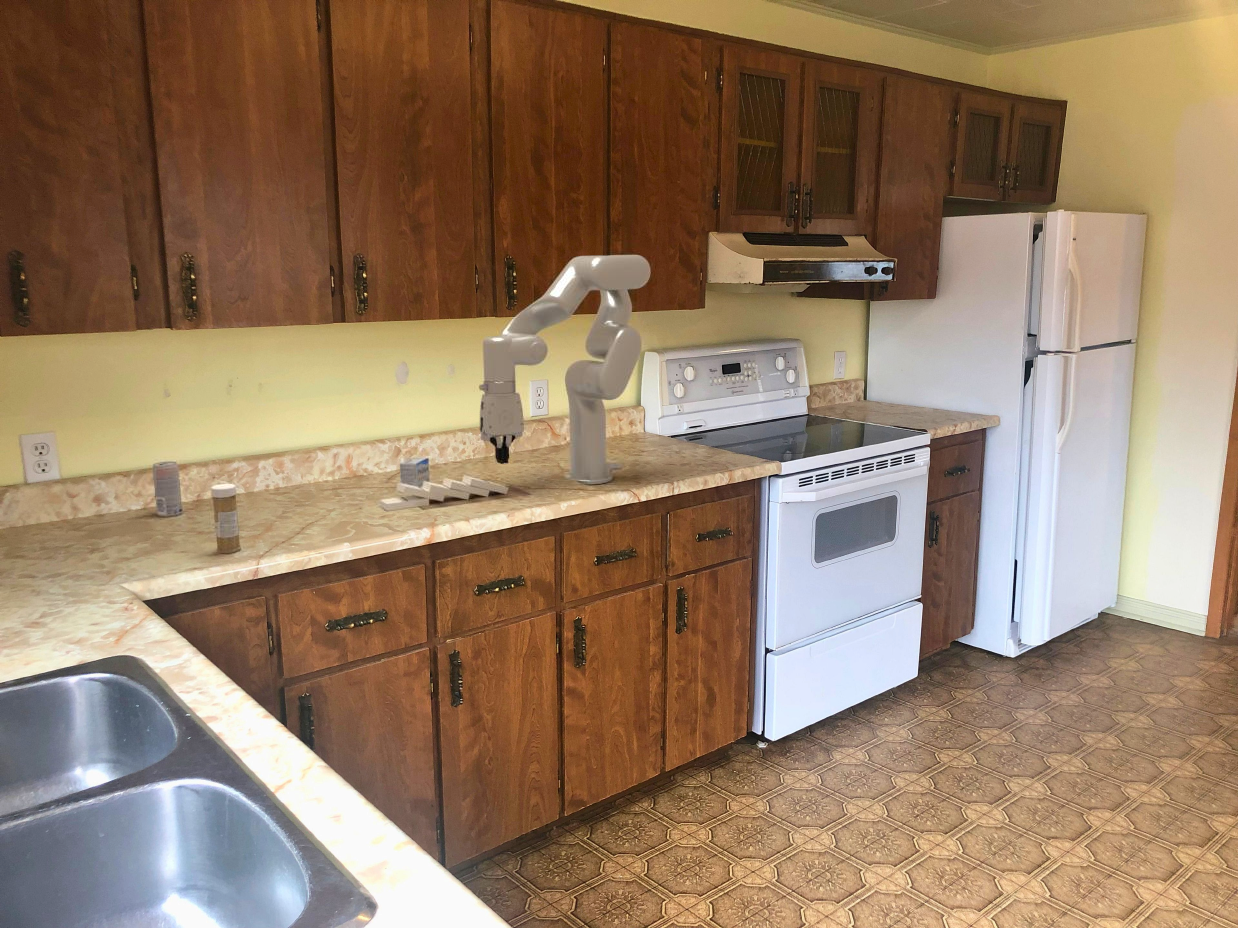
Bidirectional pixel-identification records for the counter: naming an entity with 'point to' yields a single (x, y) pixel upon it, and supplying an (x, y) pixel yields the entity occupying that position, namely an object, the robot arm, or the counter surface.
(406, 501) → the domino
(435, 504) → the walnut board
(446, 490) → the domino
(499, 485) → the domino
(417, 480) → the medicine box
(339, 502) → the counter surface
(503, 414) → the robot arm
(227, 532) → the sprinkles bottle
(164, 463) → the energy drink
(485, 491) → the domino
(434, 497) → the domino
